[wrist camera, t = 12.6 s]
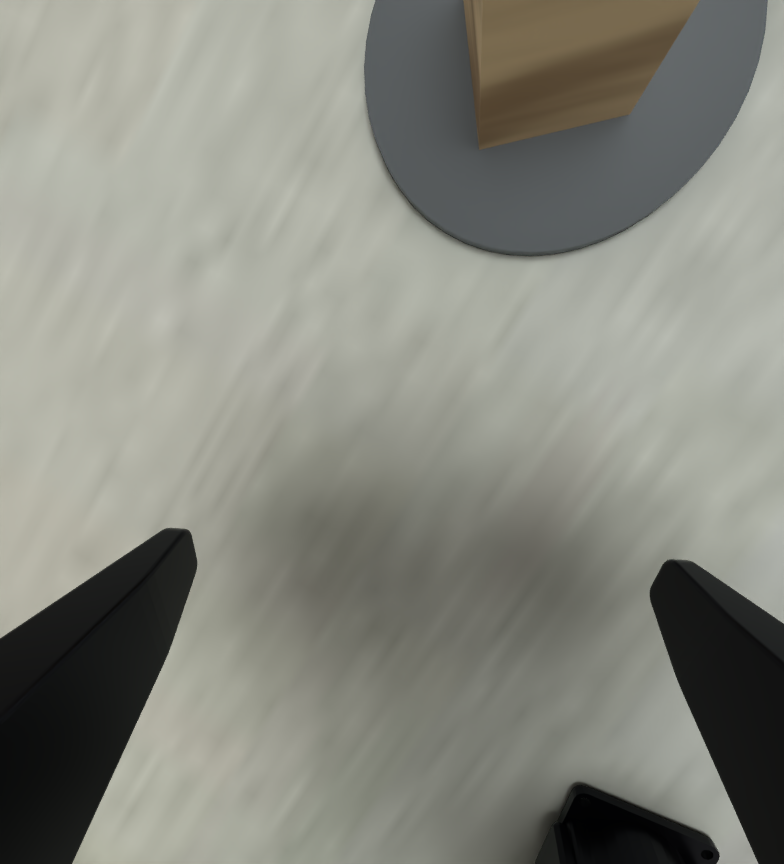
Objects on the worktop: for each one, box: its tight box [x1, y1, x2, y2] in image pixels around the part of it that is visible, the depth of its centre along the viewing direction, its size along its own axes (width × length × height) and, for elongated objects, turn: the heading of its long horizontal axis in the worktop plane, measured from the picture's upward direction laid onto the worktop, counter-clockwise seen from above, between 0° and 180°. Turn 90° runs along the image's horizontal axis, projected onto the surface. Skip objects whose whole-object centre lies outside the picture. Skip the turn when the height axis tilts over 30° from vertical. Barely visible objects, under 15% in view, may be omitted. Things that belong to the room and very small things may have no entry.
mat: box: [364, 0, 768, 256], centre depth 16 cm, size 14×14×1 cm
